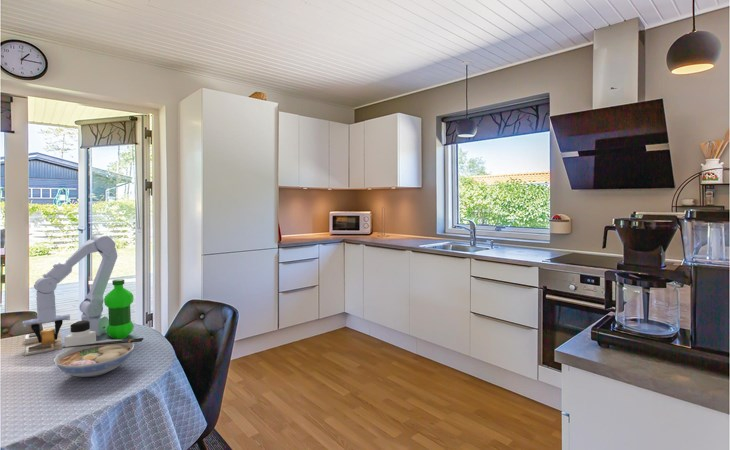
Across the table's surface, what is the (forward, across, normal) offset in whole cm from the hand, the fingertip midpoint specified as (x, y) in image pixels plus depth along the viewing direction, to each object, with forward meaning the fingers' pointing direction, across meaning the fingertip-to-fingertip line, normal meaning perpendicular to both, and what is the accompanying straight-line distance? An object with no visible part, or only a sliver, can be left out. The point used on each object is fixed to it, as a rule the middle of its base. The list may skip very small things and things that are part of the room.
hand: (48, 340), depth 153 cm
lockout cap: (+1, 0, 0) cm, 1 cm away
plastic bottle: (+3, -24, +6) cm, 25 cm away
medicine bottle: (+3, -10, +15) cm, 18 cm away
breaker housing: (+1, +4, -7) cm, 8 cm away
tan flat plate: (+2, +2, 0) cm, 3 cm away
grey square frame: (+1, +3, +7) cm, 7 cm away
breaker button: (+1, +4, -7) cm, 8 cm away
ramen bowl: (+3, -13, +40) cm, 42 cm away
